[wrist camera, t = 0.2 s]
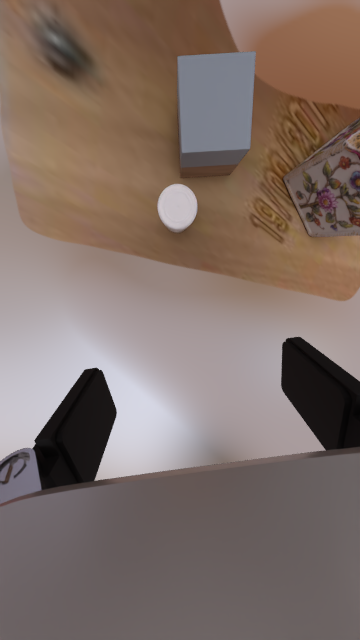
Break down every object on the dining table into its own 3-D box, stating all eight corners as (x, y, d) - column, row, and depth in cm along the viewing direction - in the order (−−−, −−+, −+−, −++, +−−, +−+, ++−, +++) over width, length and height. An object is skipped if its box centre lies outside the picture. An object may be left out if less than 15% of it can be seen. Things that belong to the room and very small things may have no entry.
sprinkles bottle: (184, 200, 34) (190, 175, 21) (193, 228, 35) (203, 220, 23) (159, 210, 34) (150, 192, 22) (169, 237, 36) (165, 235, 23)
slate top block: (177, 90, 25) (177, 56, 20) (240, 86, 25) (255, 51, 20) (180, 167, 28) (181, 152, 23) (237, 164, 28) (250, 148, 23)
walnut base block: (177, 114, 30) (177, 90, 25) (230, 111, 30) (241, 86, 25) (180, 178, 33) (181, 167, 28) (229, 175, 33) (238, 164, 28)
